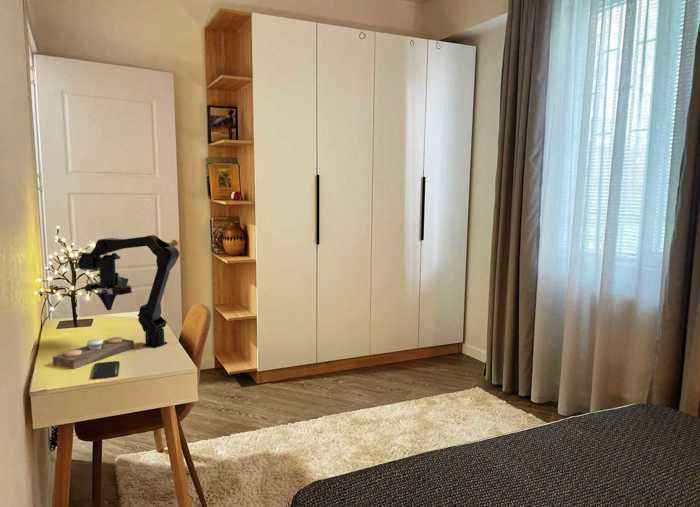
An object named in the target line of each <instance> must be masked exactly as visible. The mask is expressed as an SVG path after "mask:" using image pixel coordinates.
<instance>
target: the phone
mask: <svg viewBox="0 0 700 507" xmlns="http://www.w3.org/2000/svg"><path fill="white" fill-rule="evenodd" d="M92 369H93V370H92V373H91V380H101V379H104V378H105V379H110V378H117V377H119V371H120V360H119V361H118V360H113V361H104V362H96V363H94V365H93V368H92Z"/></svg>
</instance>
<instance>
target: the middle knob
mask: <svg viewBox="0 0 700 507" xmlns="http://www.w3.org/2000/svg"><path fill="white" fill-rule="evenodd" d="M103 341H104V340H103V339H100V338H99V339H98V338H96V339H90V340H88V341H86V346H89V350H94V351H95V350H98V349H101V344H103Z"/></svg>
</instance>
